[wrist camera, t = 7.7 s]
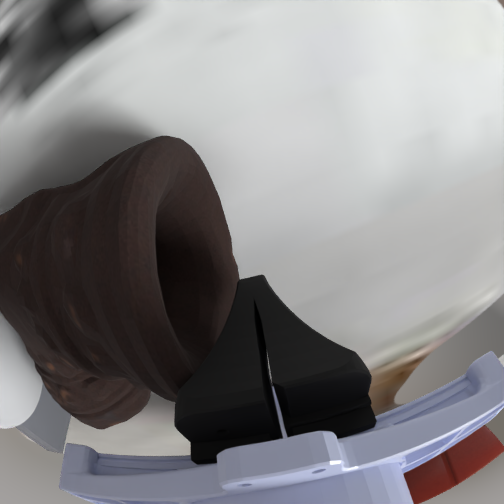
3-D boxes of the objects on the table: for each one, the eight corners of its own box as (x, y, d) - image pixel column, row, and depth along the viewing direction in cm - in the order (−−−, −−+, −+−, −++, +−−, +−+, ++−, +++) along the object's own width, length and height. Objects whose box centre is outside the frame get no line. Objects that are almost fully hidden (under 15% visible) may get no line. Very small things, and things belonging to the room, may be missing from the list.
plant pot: (385, 456, 50) (404, 510, 36) (427, 421, 41) (456, 486, 26) (439, 435, 53) (458, 480, 39) (480, 396, 44) (507, 448, 29)
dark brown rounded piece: (55, 437, 14) (254, 476, 11) (-78, 265, 7) (82, 168, 4) (99, 350, 22) (264, 346, 20) (18, 196, 15) (204, 122, 13)
